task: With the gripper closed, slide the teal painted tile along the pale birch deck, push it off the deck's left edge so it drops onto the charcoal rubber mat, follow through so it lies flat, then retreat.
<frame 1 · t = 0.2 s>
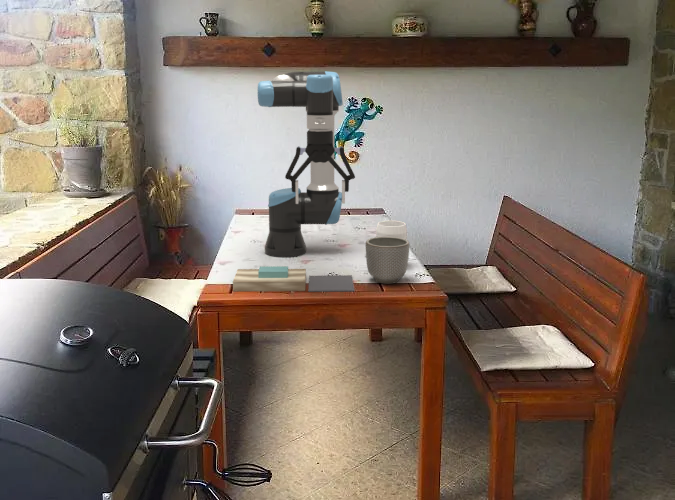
hand: (320, 203, 210), 28 cm above the table, fingers open, 13 cm apart
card: (273, 275, 225), point 3 cm above the table, touching deck
cup: (390, 266, 246), on the table
mat: (330, 283, 226), on the table
planter: (386, 281, 229), on the table
deck: (270, 284, 225), on the table
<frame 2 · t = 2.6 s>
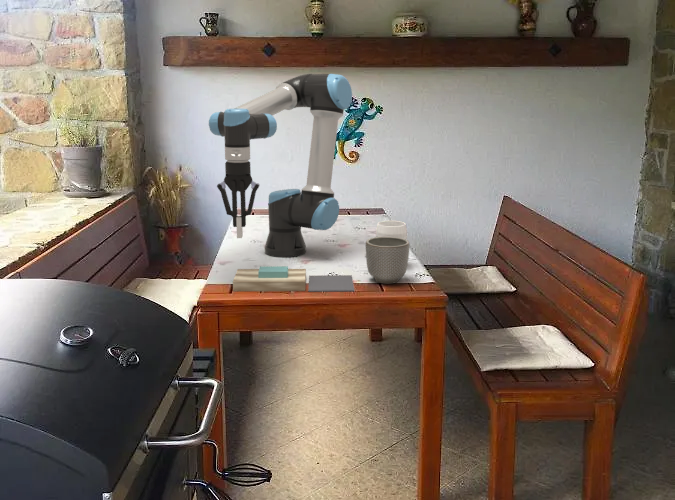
hand: (239, 237, 221), 15 cm above the table, fingers closed
nothing on the table moved.
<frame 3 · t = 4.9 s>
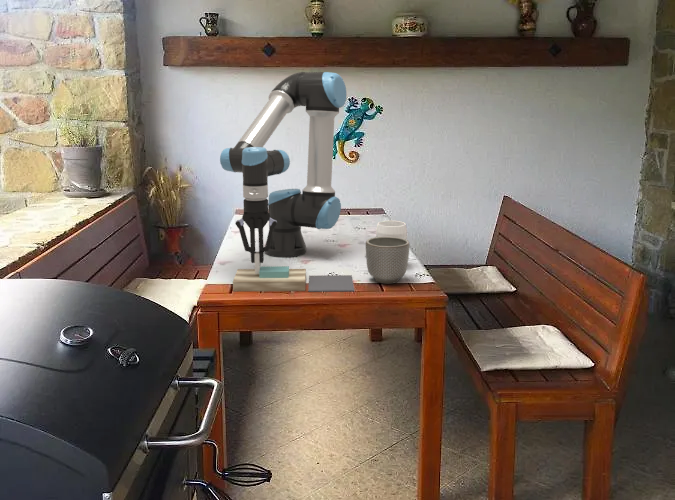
hand: (257, 272, 224), 4 cm above the table, fingers closed
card: (274, 275, 225), point 3 cm above the table, touching gripper
everything else where it was.
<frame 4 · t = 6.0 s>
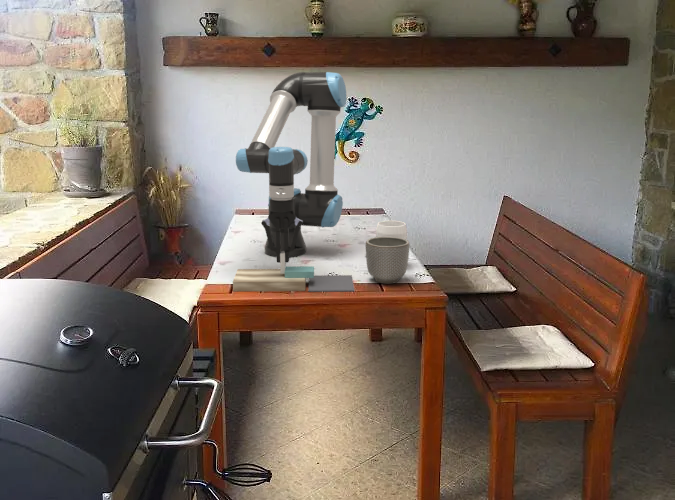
hand: (283, 272, 225), 4 cm above the table, fingers closed
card: (299, 275, 225), point 3 cm above the table, touching gripper
everything else where it was.
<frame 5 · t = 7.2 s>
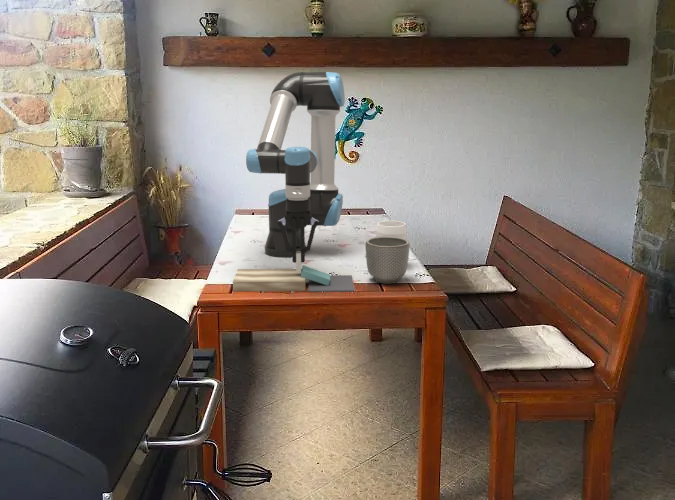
hand: (298, 272, 225), 4 cm above the table, fingers closed
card: (314, 278, 225), point 2 cm above the table, tilted 20°, touching deck, gripper, mat
everything else where it was.
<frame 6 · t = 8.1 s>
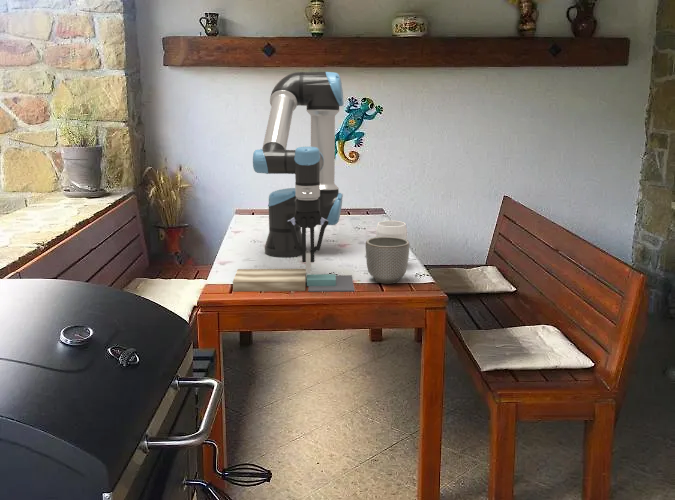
hand: (308, 272, 225), 4 cm above the table, fingers closed
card: (321, 283, 225), resting on mat
everything else where it was.
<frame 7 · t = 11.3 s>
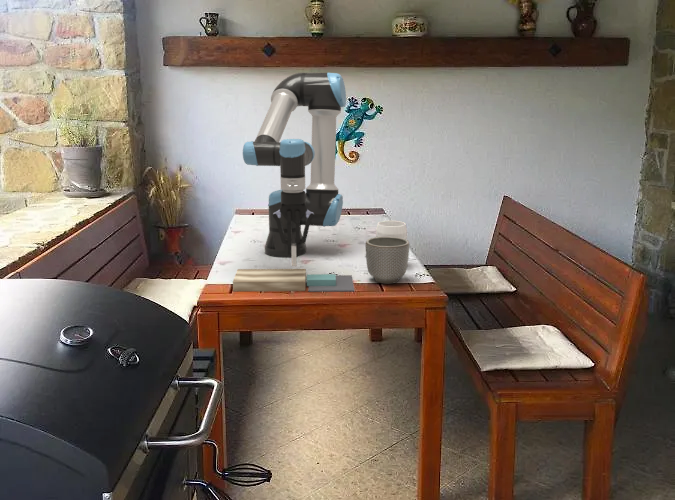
hand: (294, 264, 224), 6 cm above the table, fingers closed
nothing on the table moved.
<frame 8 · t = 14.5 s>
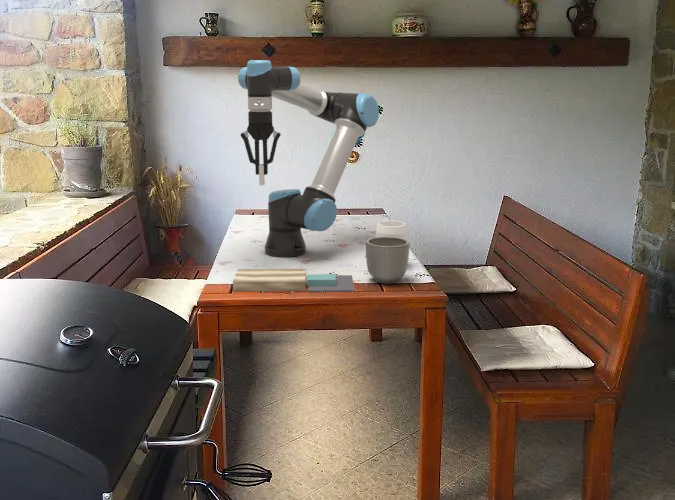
hand: (262, 184, 232), 29 cm above the table, fingers closed
nothing on the table moved.
at the end: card resting on mat; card inside the target area (3.0 cm from its centre), resting on mat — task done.
